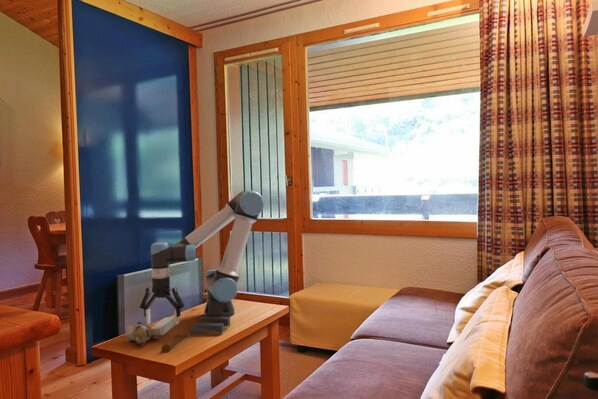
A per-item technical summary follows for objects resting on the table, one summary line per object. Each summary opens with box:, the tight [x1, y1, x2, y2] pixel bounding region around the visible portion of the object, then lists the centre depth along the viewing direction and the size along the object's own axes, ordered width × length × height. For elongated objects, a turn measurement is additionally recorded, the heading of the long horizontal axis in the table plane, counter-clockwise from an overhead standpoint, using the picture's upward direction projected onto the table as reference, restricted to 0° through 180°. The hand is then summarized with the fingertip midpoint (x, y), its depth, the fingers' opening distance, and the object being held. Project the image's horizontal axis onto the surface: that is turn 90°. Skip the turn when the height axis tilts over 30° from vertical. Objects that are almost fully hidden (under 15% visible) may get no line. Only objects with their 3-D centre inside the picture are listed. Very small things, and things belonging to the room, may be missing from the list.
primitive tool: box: [161, 334, 189, 353], centre depth 169 cm, size 19×6×4 cm, turn 179°
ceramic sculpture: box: [125, 321, 163, 346], centre depth 172 cm, size 11×9×15 cm
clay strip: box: [150, 316, 176, 336], centre depth 185 cm, size 16×4×4 cm, turn 175°
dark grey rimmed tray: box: [190, 316, 231, 336], centre depth 184 cm, size 12×14×4 cm
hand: (162, 323), depth 185 cm, fingers open, 13 cm apart
